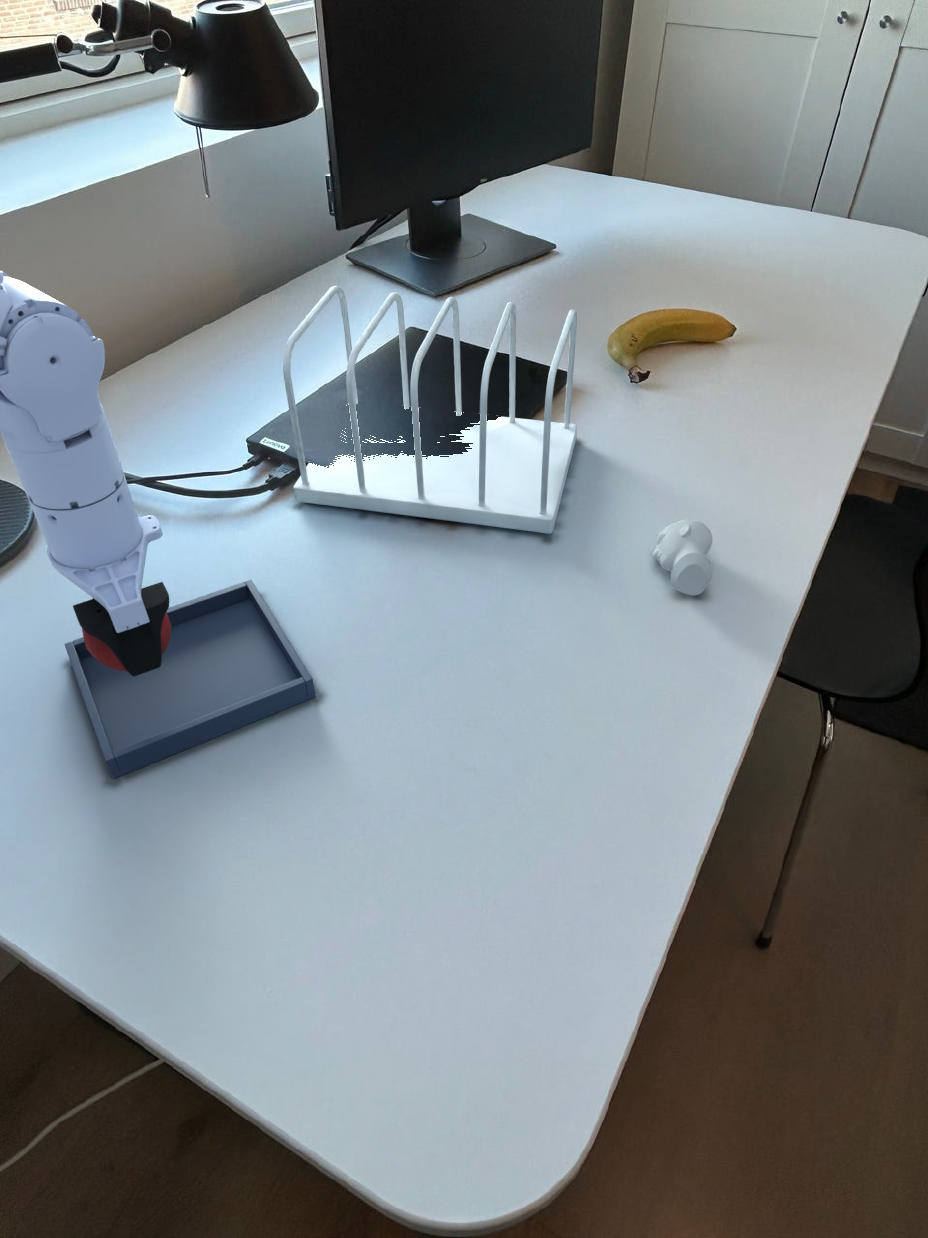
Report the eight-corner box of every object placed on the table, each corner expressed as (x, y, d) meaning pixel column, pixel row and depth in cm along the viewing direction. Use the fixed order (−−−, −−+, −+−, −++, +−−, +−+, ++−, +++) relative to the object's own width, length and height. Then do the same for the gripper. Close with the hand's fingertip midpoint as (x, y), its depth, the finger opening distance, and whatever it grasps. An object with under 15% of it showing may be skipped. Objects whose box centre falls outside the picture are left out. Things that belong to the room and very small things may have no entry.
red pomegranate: (195, 648, 66) (171, 566, 60) (152, 702, 62) (121, 620, 57) (129, 630, 67) (100, 548, 62) (82, 682, 63) (46, 600, 58)
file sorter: (576, 439, 93) (590, 295, 82) (551, 539, 81) (564, 383, 70) (350, 413, 97) (336, 272, 86) (294, 504, 85) (268, 352, 74)
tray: (113, 779, 61) (105, 761, 60) (72, 661, 69) (64, 643, 68) (316, 696, 67) (312, 678, 65) (255, 596, 75) (251, 578, 74)
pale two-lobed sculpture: (658, 551, 81) (715, 544, 79) (654, 607, 75) (716, 600, 73) (650, 512, 78) (708, 504, 77) (645, 567, 73) (709, 560, 71)
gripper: (174, 525, 51) (220, 684, 60) (112, 413, 60) (160, 567, 69) (47, 564, 48) (116, 725, 57) (3, 441, 57) (68, 597, 67)
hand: (133, 641), depth 63 cm, fingers closed on red pomegranate, 6 cm apart
